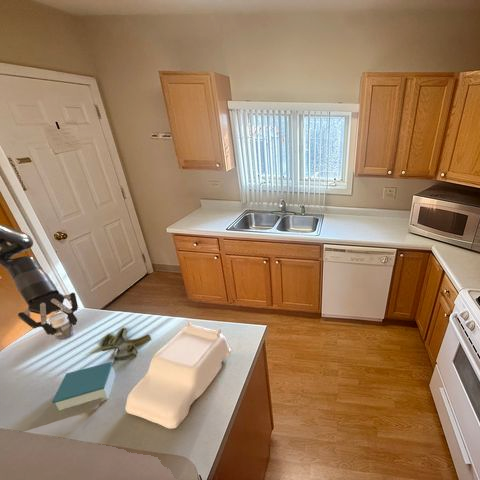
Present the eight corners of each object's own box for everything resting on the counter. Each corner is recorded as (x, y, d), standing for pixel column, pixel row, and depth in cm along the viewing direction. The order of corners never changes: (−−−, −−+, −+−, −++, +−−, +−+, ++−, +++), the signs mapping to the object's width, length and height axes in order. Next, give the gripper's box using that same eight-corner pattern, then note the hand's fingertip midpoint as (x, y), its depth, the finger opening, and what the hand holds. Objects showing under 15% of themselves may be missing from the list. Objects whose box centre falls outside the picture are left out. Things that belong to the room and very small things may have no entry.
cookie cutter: (155, 339, 102) (154, 336, 102) (128, 363, 92) (126, 359, 91) (121, 329, 107) (119, 326, 106) (90, 351, 96) (89, 347, 95)
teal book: (59, 415, 75) (51, 401, 73) (72, 386, 83) (66, 373, 81) (109, 399, 80) (103, 387, 77) (117, 373, 88) (112, 361, 86)
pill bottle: (52, 339, 83) (42, 319, 80) (68, 329, 88) (59, 310, 84) (63, 342, 82) (54, 323, 79) (79, 332, 87) (70, 313, 83)
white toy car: (234, 352, 98) (231, 325, 93) (175, 434, 72) (166, 403, 66) (193, 341, 103) (187, 314, 97) (122, 414, 76) (109, 383, 71)
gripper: (1, 293, 75) (33, 340, 75) (65, 272, 86) (92, 313, 86) (4, 301, 79) (33, 346, 79) (64, 280, 91) (90, 319, 90)
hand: (64, 328), depth 82 cm, fingers closed on pill bottle, 4 cm apart
